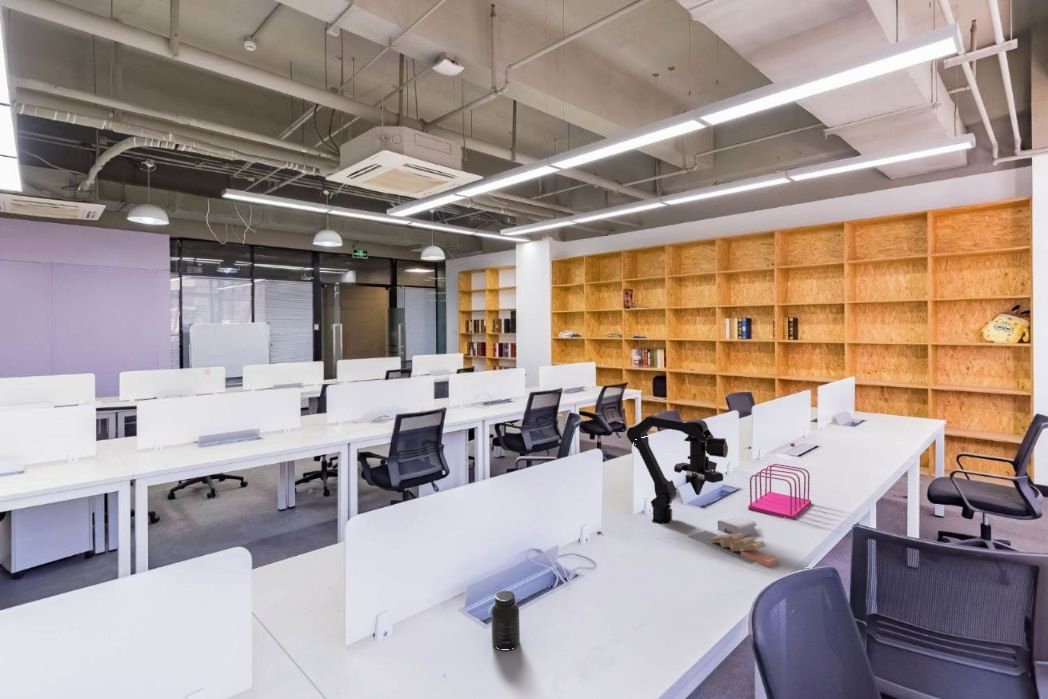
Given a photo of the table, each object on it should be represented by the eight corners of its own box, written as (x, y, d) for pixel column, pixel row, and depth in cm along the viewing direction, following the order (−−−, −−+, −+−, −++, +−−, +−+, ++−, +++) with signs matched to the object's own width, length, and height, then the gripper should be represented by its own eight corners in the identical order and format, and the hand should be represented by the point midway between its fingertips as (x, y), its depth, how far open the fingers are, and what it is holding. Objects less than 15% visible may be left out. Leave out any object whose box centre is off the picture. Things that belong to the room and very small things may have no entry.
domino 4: (740, 550, 172) (768, 562, 164) (750, 547, 175) (778, 558, 166) (740, 555, 172) (768, 567, 164) (750, 552, 175) (778, 563, 166)
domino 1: (710, 538, 183) (732, 536, 175) (719, 535, 185) (742, 533, 177) (711, 543, 182) (734, 541, 174) (721, 540, 185) (743, 537, 177)
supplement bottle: (491, 635, 131) (490, 589, 130) (518, 634, 131) (518, 587, 131) (492, 652, 124) (491, 603, 123) (520, 651, 124) (520, 601, 124)
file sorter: (747, 510, 216) (748, 472, 216) (768, 495, 235) (769, 460, 234) (793, 520, 205) (793, 481, 204) (811, 504, 223) (811, 467, 222)
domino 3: (729, 546, 176) (754, 544, 168) (739, 543, 179) (763, 540, 171) (731, 551, 175) (755, 549, 167) (740, 548, 178) (765, 546, 170)
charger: (764, 531, 194) (739, 540, 186) (742, 523, 202) (717, 532, 194) (764, 518, 194) (739, 527, 186) (742, 511, 202) (717, 519, 194)
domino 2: (719, 542, 179) (743, 540, 171) (729, 539, 182) (752, 536, 174) (721, 547, 179) (745, 545, 171) (731, 544, 181) (754, 541, 173)
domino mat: (687, 538, 189) (687, 536, 189) (705, 532, 194) (705, 530, 194) (751, 565, 166) (751, 564, 166) (770, 558, 172) (770, 556, 172)
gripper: (733, 455, 192) (732, 497, 193) (692, 446, 208) (692, 484, 209) (712, 460, 186) (712, 503, 187) (673, 450, 202) (673, 489, 203)
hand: (697, 494), depth 197 cm, fingers closed
